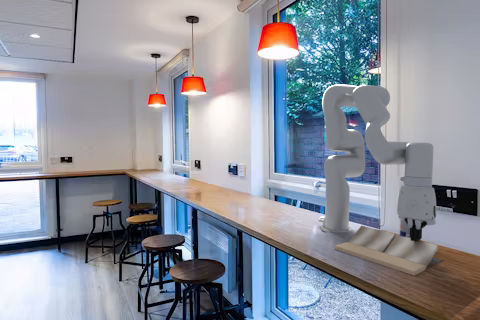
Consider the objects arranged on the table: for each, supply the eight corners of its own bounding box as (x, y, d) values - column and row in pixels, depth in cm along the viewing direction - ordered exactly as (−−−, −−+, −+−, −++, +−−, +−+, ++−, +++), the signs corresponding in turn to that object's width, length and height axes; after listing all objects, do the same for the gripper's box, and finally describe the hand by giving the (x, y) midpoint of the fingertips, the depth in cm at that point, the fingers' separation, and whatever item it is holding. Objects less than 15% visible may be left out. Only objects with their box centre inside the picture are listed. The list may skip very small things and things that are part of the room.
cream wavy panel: (384, 255, 102) (383, 252, 102) (397, 237, 107) (397, 234, 106) (426, 268, 92) (425, 265, 92) (438, 248, 97) (437, 245, 96)
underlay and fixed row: (330, 253, 107) (330, 246, 107) (366, 241, 120) (366, 236, 119) (410, 281, 86) (410, 273, 86) (443, 263, 99) (443, 256, 99)
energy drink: (401, 242, 120) (402, 210, 119) (417, 245, 116) (418, 212, 115) (397, 245, 115) (399, 212, 115) (414, 249, 112) (415, 215, 111)
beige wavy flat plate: (349, 244, 113) (348, 242, 112) (362, 228, 117) (361, 225, 116) (383, 255, 103) (382, 252, 102) (395, 236, 107) (394, 233, 106)
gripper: (388, 180, 103) (386, 236, 104) (439, 186, 91) (436, 249, 92) (399, 179, 108) (397, 232, 109) (449, 184, 96) (446, 244, 97)
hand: (415, 240), depth 101 cm, fingers closed
